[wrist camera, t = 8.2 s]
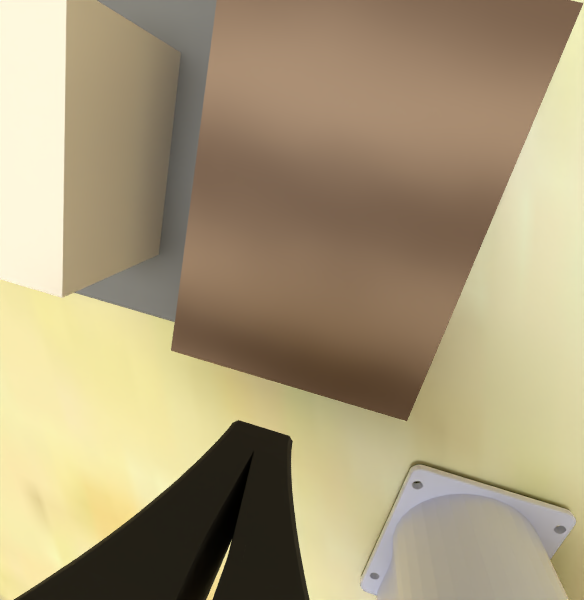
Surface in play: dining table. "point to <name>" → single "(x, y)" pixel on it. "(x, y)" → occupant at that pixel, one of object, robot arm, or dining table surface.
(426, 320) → the board
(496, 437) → the dining table surface
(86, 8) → the tile
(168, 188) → the mat
